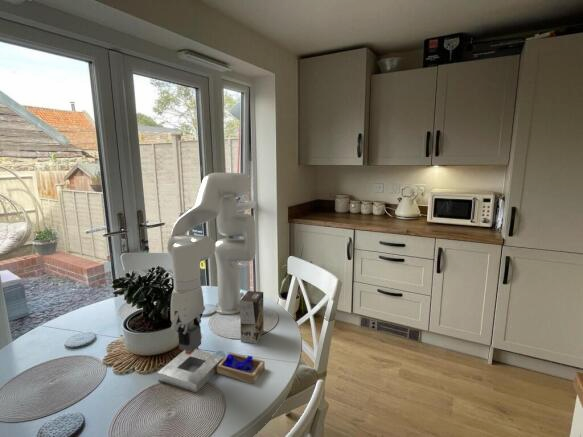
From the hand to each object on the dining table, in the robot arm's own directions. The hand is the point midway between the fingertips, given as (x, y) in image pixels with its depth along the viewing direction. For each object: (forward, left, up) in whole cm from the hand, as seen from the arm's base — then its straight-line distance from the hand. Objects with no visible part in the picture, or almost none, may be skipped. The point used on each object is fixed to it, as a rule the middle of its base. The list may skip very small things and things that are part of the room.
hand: (189, 339), depth 97 cm
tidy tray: (-6, +14, -11) cm, 19 cm away
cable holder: (-7, +13, -12) cm, 19 cm away
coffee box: (-25, +8, -12) cm, 29 cm away
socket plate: (0, 0, -11) cm, 11 cm away
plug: (0, 0, -2) cm, 2 cm away
